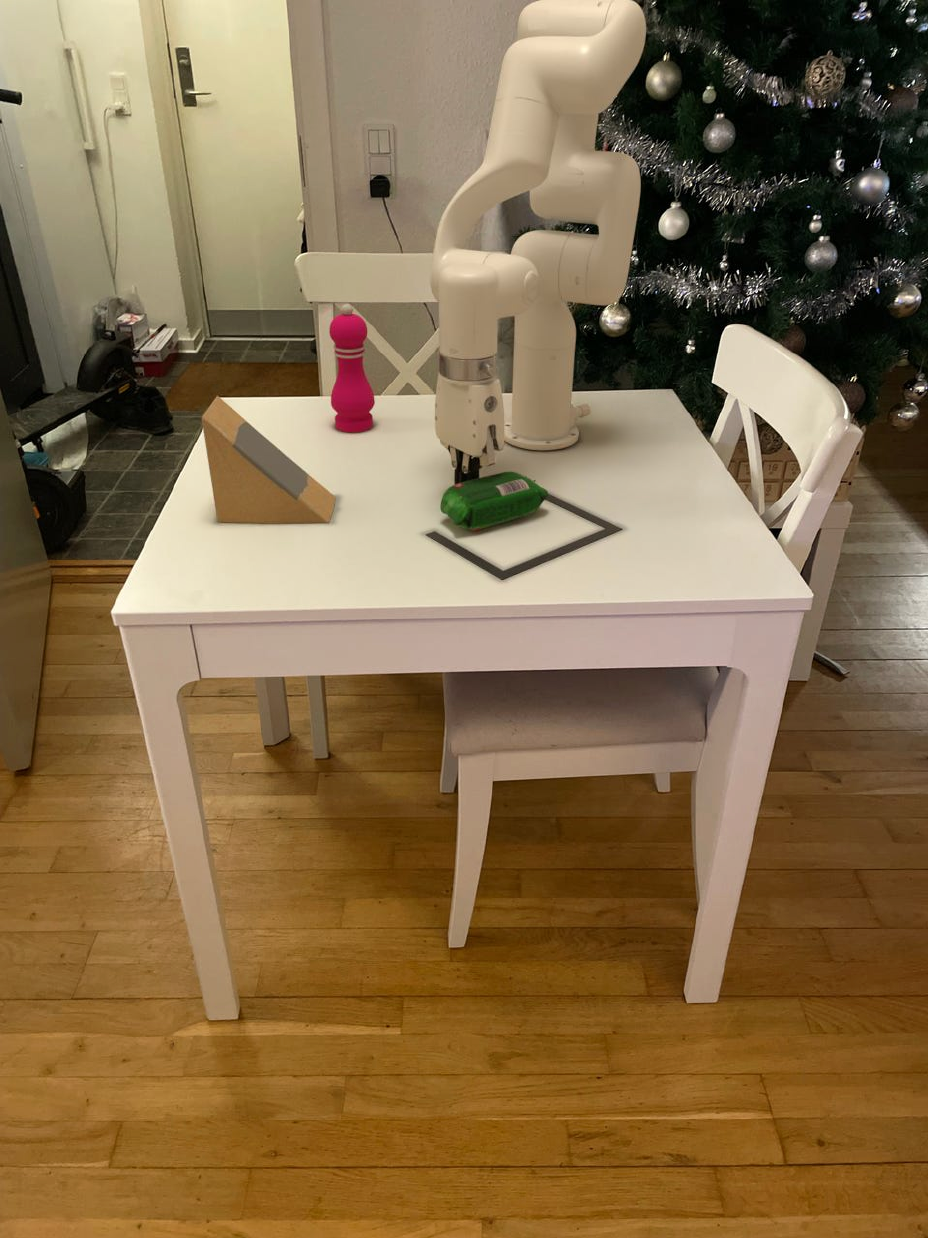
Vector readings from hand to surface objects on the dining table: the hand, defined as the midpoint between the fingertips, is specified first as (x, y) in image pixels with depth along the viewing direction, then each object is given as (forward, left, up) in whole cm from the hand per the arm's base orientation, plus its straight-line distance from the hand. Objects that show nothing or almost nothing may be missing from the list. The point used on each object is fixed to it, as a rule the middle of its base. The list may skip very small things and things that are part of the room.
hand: (466, 494), depth 132 cm
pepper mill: (-4, -35, -2) cm, 35 cm away
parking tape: (0, +12, -1) cm, 12 cm away
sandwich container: (+22, -15, -2) cm, 26 cm away
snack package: (0, +6, -2) cm, 6 cm away
